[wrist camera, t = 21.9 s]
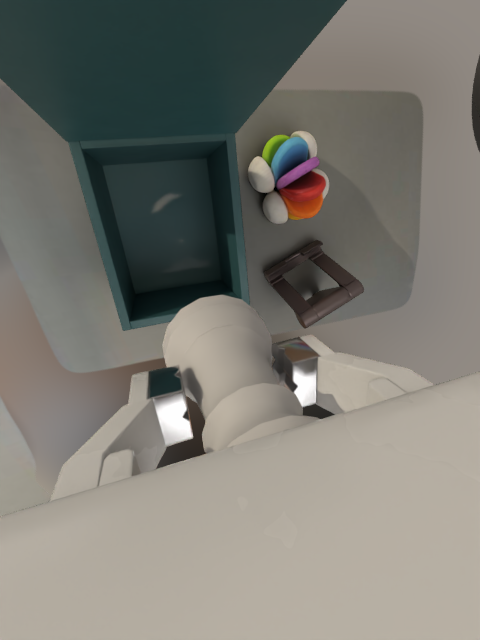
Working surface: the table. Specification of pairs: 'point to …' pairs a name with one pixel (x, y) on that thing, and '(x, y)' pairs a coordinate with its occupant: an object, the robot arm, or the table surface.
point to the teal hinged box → (165, 221)
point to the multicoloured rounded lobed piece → (289, 177)
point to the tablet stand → (321, 300)
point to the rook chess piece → (230, 372)
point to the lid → (152, 61)
